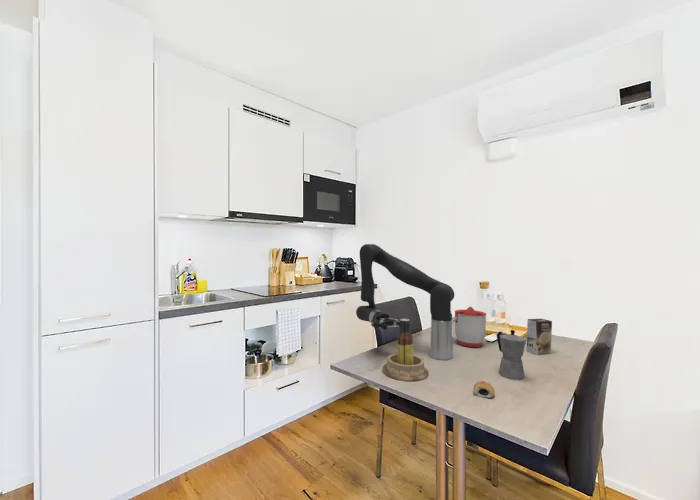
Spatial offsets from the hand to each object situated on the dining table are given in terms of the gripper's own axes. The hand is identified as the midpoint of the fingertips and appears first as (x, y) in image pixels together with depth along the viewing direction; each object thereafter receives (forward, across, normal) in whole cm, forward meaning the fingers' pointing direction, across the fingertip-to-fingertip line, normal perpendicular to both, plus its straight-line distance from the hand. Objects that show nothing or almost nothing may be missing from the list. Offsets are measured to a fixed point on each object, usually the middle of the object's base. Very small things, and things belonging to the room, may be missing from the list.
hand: (395, 326), depth 136 cm
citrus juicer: (-15, +51, +16) cm, 55 cm away
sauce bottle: (+10, 0, +15) cm, 18 cm away
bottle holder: (+10, 0, +16) cm, 19 cm away
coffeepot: (+23, +40, +16) cm, 49 cm away
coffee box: (+5, +77, +17) cm, 79 cm away
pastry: (+34, +17, +17) cm, 41 cm away
